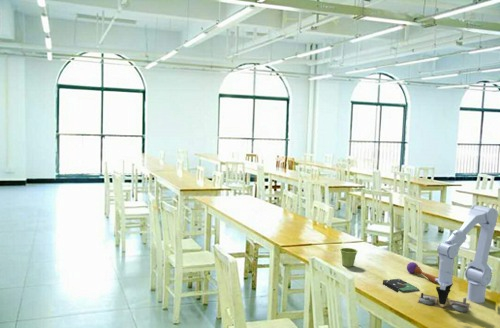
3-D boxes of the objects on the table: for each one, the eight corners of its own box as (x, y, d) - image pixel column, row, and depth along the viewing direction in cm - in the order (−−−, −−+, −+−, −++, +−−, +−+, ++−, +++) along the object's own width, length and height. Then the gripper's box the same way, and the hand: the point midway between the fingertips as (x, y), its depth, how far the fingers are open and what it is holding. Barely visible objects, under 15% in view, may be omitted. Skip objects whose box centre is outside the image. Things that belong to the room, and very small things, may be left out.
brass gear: (436, 301, 207) (437, 295, 207) (450, 304, 204) (451, 298, 204) (435, 305, 202) (435, 299, 202) (448, 308, 199) (449, 302, 199)
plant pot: (356, 269, 253) (357, 253, 252) (339, 267, 255) (340, 251, 254) (356, 264, 262) (357, 248, 261) (339, 262, 264) (340, 247, 263)
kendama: (432, 276, 233) (404, 262, 251) (432, 287, 235) (404, 272, 253) (441, 273, 236) (412, 259, 254) (441, 284, 237) (413, 269, 255)
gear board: (422, 296, 216) (422, 286, 216) (469, 306, 207) (470, 296, 206) (417, 305, 205) (418, 295, 204) (467, 316, 195) (468, 305, 195)
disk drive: (382, 285, 230) (402, 296, 217) (382, 280, 230) (402, 290, 216) (399, 283, 234) (419, 294, 220) (399, 278, 234) (420, 288, 220)
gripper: (438, 264, 210) (435, 294, 211) (433, 273, 197) (431, 304, 198) (455, 267, 206) (452, 297, 208) (451, 276, 194) (448, 308, 195)
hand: (443, 301), depth 203 cm, fingers open, 7 cm apart
